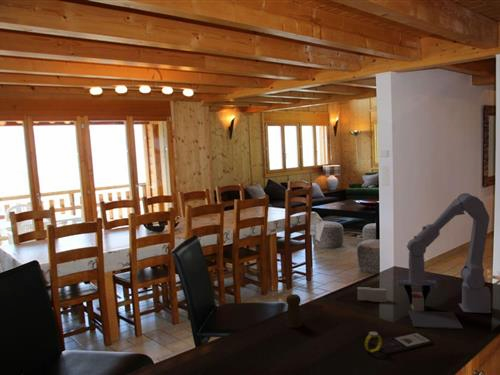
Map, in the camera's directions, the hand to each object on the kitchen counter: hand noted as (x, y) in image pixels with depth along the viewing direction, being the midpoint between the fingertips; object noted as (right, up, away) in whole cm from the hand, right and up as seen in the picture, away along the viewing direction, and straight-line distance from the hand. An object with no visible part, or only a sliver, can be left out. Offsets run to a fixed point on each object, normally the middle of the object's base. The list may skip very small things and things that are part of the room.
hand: (417, 304), depth 170 cm
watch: (-26, -6, -33) cm, 43 cm away
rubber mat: (+2, -3, -12) cm, 13 cm away
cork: (-49, -5, -10) cm, 50 cm away
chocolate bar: (-16, -6, -29) cm, 34 cm away
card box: (0, -1, 0) cm, 2 cm away
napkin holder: (-15, -2, +11) cm, 19 cm away
